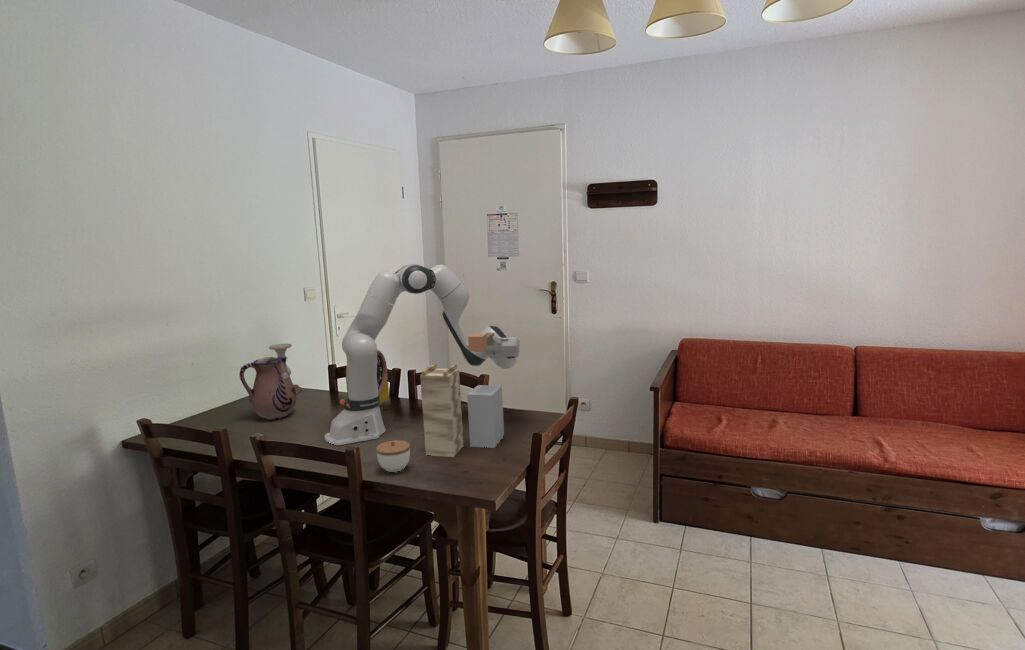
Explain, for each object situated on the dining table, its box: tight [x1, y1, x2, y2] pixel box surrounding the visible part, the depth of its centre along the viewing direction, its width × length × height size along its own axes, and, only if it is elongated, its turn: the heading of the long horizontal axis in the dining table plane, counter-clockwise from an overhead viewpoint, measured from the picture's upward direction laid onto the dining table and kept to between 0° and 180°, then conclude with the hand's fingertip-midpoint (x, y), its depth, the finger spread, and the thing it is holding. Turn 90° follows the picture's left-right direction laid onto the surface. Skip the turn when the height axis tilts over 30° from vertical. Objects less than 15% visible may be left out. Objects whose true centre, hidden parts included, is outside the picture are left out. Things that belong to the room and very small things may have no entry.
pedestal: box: [466, 384, 505, 449], centre depth 211 cm, size 12×9×19 cm
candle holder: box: [268, 343, 302, 392], centre depth 287 cm, size 11×11×24 cm
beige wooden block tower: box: [419, 363, 464, 458], centre depth 203 cm, size 10×10×30 cm
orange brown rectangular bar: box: [467, 333, 494, 351], centre depth 210 cm, size 18×5×5 cm, turn 165°
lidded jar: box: [375, 439, 411, 473], centre depth 191 cm, size 11×11×9 cm
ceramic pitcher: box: [238, 356, 297, 420], centre depth 250 cm, size 18×21×25 cm
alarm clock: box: [345, 349, 390, 404], centre depth 262 cm, size 21×9×26 cm, turn 164°
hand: (487, 337), depth 215 cm, fingers closed on orange brown rectangular bar, 3 cm apart
